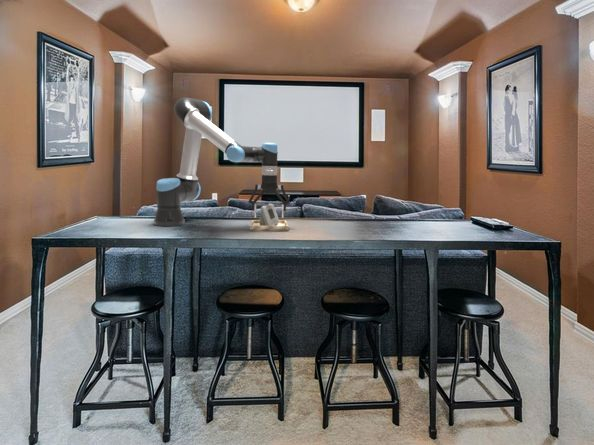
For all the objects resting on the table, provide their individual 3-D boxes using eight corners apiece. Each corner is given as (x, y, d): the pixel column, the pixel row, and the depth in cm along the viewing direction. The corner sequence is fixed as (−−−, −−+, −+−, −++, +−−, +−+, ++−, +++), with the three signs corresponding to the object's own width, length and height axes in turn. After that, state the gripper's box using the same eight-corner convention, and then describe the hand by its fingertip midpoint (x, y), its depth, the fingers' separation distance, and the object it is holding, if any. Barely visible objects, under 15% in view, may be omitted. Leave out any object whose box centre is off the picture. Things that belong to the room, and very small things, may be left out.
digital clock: (269, 228, 208) (269, 206, 206) (253, 227, 211) (253, 205, 210) (284, 224, 222) (284, 203, 221) (269, 223, 226) (269, 202, 224)
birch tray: (250, 231, 207) (250, 225, 206) (251, 224, 226) (251, 220, 226) (288, 231, 208) (288, 226, 208) (286, 225, 228) (286, 220, 227)
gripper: (243, 174, 209) (243, 218, 212) (295, 175, 211) (294, 218, 214) (244, 174, 216) (244, 216, 219) (294, 174, 218) (293, 216, 221)
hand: (268, 217), depth 216 cm, fingers open, 13 cm apart
